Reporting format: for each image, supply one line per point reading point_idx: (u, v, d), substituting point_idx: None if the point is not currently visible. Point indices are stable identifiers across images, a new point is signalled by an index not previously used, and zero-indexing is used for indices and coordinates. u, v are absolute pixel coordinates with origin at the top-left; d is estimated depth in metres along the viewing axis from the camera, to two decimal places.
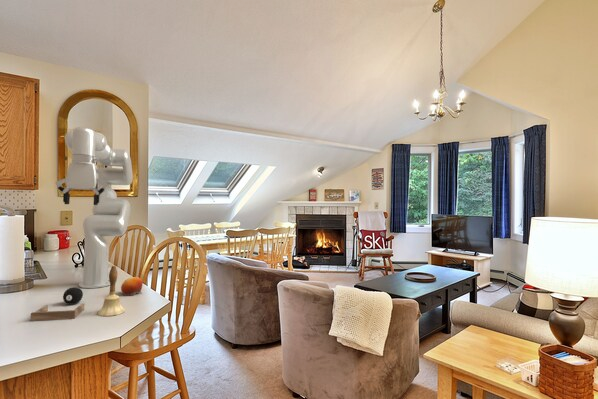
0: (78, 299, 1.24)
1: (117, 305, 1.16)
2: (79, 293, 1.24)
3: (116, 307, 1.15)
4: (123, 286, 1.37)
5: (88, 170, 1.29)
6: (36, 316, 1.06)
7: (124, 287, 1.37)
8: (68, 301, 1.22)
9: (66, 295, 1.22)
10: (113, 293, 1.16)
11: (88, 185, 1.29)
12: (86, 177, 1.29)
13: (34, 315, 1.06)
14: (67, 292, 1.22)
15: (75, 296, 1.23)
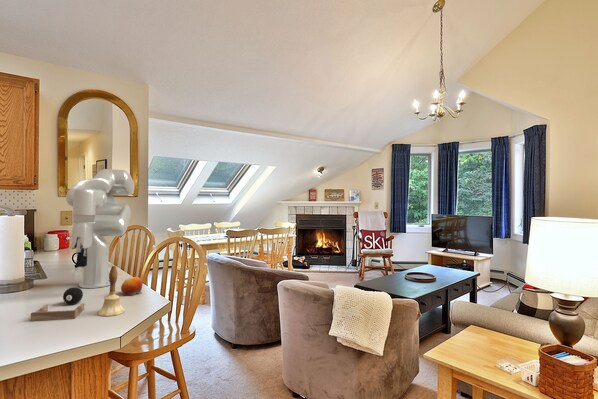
0: (78, 299, 1.24)
1: (117, 305, 1.16)
2: (79, 293, 1.24)
3: (116, 307, 1.15)
4: (123, 286, 1.37)
5: (92, 229, 1.37)
6: (36, 316, 1.06)
7: (124, 287, 1.37)
8: (68, 301, 1.22)
9: (66, 295, 1.22)
10: (113, 293, 1.16)
11: (90, 243, 1.36)
12: (90, 235, 1.36)
13: (34, 315, 1.06)
14: (67, 292, 1.22)
15: (75, 296, 1.23)
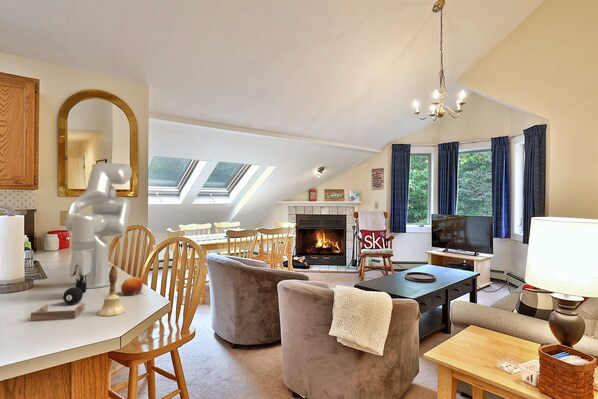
0: (78, 299, 1.24)
1: (117, 305, 1.16)
2: (79, 293, 1.24)
3: (116, 307, 1.15)
4: (123, 286, 1.37)
5: (91, 255, 1.37)
6: (36, 316, 1.06)
7: (124, 287, 1.37)
8: (68, 301, 1.22)
9: (66, 295, 1.22)
10: (113, 293, 1.16)
11: (89, 269, 1.36)
12: (89, 261, 1.36)
13: (34, 315, 1.06)
14: (67, 292, 1.22)
15: (75, 296, 1.23)
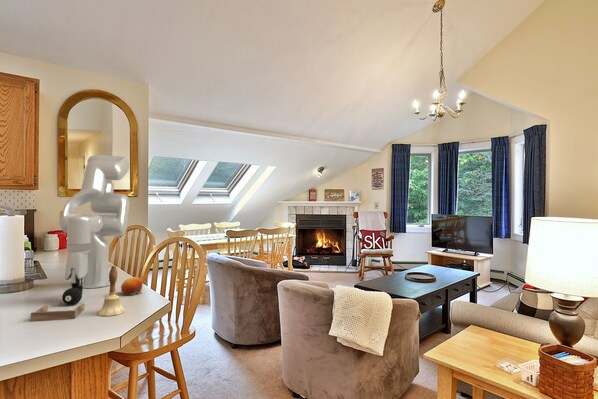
0: (77, 300, 1.23)
1: (117, 305, 1.16)
2: (79, 294, 1.23)
3: (116, 307, 1.15)
4: (123, 286, 1.37)
5: (87, 257, 1.32)
6: (36, 316, 1.06)
7: (124, 287, 1.37)
8: (67, 302, 1.21)
9: (65, 296, 1.21)
10: (113, 293, 1.16)
11: (86, 271, 1.32)
12: (86, 264, 1.31)
13: (34, 315, 1.06)
14: (66, 293, 1.22)
15: (74, 297, 1.22)
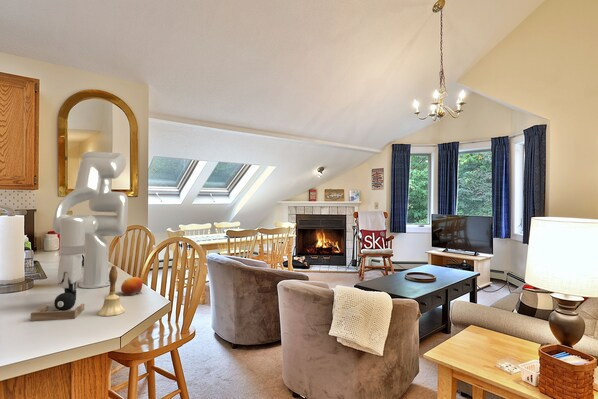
0: (70, 305, 1.16)
1: (117, 305, 1.16)
2: (72, 299, 1.17)
3: (116, 307, 1.15)
4: (123, 286, 1.37)
5: (81, 260, 1.25)
6: (36, 316, 1.06)
7: (124, 287, 1.37)
8: (59, 308, 1.15)
9: (57, 301, 1.14)
10: (113, 293, 1.16)
11: (80, 275, 1.25)
12: (80, 267, 1.25)
13: (34, 315, 1.06)
14: (58, 298, 1.15)
15: (67, 302, 1.15)
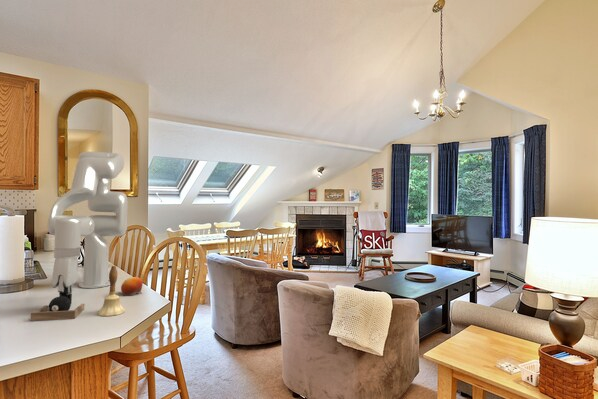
0: (65, 309, 1.12)
1: (117, 305, 1.16)
2: (67, 303, 1.12)
3: (116, 307, 1.15)
4: (123, 286, 1.37)
5: (77, 262, 1.21)
6: (36, 316, 1.06)
7: (124, 287, 1.37)
8: None
9: (51, 305, 1.10)
10: (113, 293, 1.16)
11: (75, 278, 1.21)
12: (75, 270, 1.20)
13: (34, 315, 1.06)
14: (53, 302, 1.10)
15: (62, 306, 1.11)
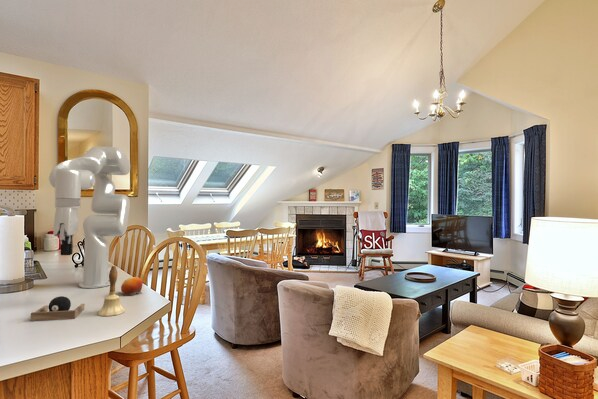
0: (65, 310, 1.12)
1: (117, 305, 1.16)
2: (67, 303, 1.12)
3: (116, 307, 1.15)
4: (123, 286, 1.37)
5: (77, 214, 1.23)
6: (36, 316, 1.06)
7: (124, 287, 1.37)
8: None
9: (51, 305, 1.10)
10: (113, 293, 1.16)
11: (76, 229, 1.23)
12: (76, 221, 1.23)
13: (34, 315, 1.06)
14: (53, 302, 1.10)
15: (62, 306, 1.11)
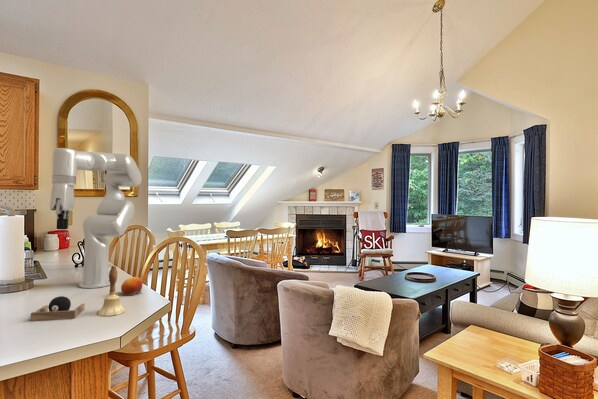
0: (65, 310, 1.12)
1: (117, 305, 1.16)
2: (67, 303, 1.12)
3: (116, 307, 1.15)
4: (123, 286, 1.37)
5: (73, 191, 1.32)
6: (36, 316, 1.06)
7: (124, 287, 1.37)
8: None
9: (51, 305, 1.10)
10: (113, 293, 1.16)
11: (72, 206, 1.31)
12: (72, 198, 1.31)
13: (34, 315, 1.06)
14: (53, 302, 1.10)
15: (62, 306, 1.11)
